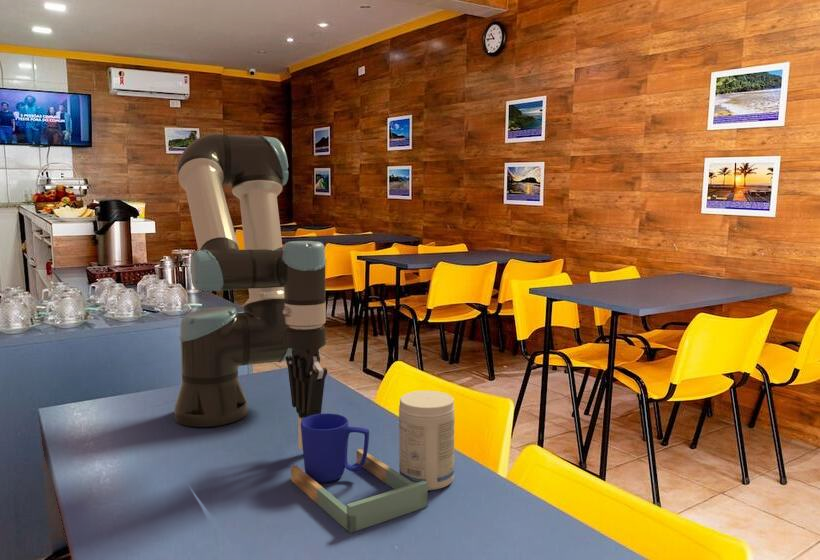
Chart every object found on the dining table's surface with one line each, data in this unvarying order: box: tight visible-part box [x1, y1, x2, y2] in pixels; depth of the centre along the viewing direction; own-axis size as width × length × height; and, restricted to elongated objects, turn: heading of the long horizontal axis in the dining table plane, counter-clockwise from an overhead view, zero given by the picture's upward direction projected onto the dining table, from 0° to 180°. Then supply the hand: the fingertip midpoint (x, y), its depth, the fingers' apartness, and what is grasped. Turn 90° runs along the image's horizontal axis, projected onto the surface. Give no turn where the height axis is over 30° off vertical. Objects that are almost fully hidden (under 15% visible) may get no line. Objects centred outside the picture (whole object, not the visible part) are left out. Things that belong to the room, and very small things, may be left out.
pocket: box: [316, 467, 429, 534], centre depth 99 cm, size 10×14×4 cm
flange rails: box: [290, 448, 391, 504], centre depth 107 cm, size 10×14×2 cm
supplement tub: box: [398, 390, 456, 491], centre depth 107 cm, size 10×10×15 cm
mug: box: [301, 413, 370, 483], centre depth 108 cm, size 8×12×10 cm
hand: (306, 447), depth 118 cm, fingers closed
